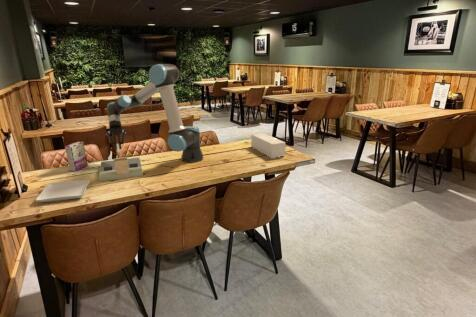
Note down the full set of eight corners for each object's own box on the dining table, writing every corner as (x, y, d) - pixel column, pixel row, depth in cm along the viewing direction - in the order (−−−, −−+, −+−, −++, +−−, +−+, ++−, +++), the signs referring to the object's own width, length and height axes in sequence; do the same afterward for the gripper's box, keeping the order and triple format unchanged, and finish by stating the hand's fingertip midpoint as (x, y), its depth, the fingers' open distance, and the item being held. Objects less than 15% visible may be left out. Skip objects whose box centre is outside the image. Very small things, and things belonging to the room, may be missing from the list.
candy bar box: (81, 165, 197) (77, 141, 192) (88, 165, 196) (83, 141, 191) (69, 171, 187) (64, 146, 182) (76, 171, 186) (71, 146, 181)
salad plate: (84, 200, 148) (83, 194, 147) (35, 206, 143) (34, 199, 142) (91, 184, 168) (90, 178, 166) (49, 188, 162) (47, 182, 161)
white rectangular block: (251, 147, 236) (251, 134, 232) (262, 145, 240) (263, 132, 237) (271, 159, 208) (272, 144, 205) (284, 156, 212) (285, 142, 209)
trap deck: (101, 165, 197) (101, 161, 196) (139, 160, 205) (139, 157, 204) (99, 181, 170) (98, 177, 169) (143, 175, 178) (142, 171, 178)
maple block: (115, 171, 179) (113, 158, 177) (127, 169, 182) (126, 156, 180) (116, 174, 173) (114, 161, 171) (129, 173, 176) (127, 160, 173)
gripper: (125, 125, 205) (129, 154, 196) (105, 127, 201) (108, 157, 191) (124, 118, 199) (129, 149, 189) (103, 120, 195) (107, 151, 185)
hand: (118, 153), depth 190 cm, fingers closed
